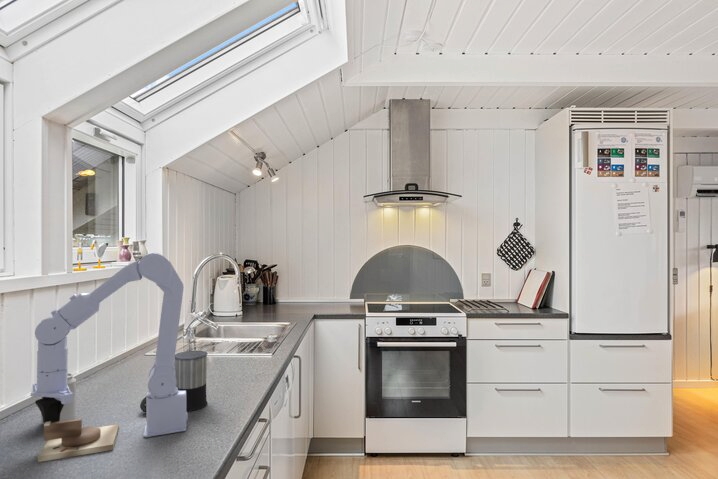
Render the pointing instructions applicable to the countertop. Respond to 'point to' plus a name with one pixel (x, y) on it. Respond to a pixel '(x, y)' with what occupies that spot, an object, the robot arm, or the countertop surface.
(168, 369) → the robot arm
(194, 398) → the milk frother
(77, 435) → the dial
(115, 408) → the countertop surface
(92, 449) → the dial plate
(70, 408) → the can
